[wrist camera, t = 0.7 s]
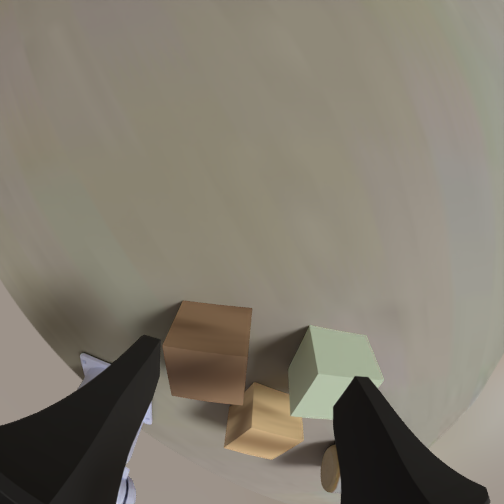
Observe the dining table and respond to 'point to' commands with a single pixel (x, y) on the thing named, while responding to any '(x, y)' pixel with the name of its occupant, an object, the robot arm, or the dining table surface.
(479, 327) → the dining table surface
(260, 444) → the oak block
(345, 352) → the sage block
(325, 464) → the ceramic mug
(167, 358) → the walnut block
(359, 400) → the robot arm
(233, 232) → the dining table surface
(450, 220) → the dining table surface
